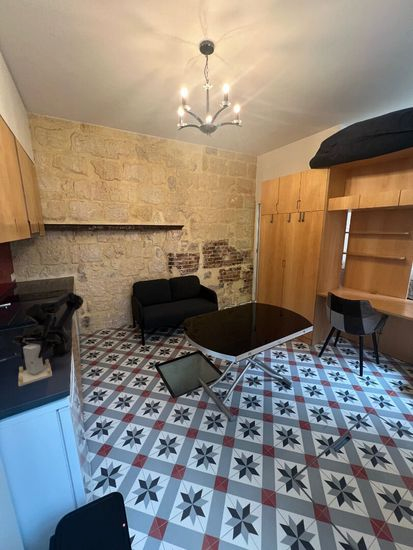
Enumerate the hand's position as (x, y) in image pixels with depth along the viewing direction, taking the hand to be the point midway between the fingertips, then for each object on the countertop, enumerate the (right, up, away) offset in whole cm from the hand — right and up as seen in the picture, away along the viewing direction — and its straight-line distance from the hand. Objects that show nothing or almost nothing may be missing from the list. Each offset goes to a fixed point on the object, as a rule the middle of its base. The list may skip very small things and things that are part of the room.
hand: (30, 358), depth 105 cm
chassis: (0, -8, +3) cm, 9 cm away
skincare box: (0, -7, +3) cm, 7 cm away
